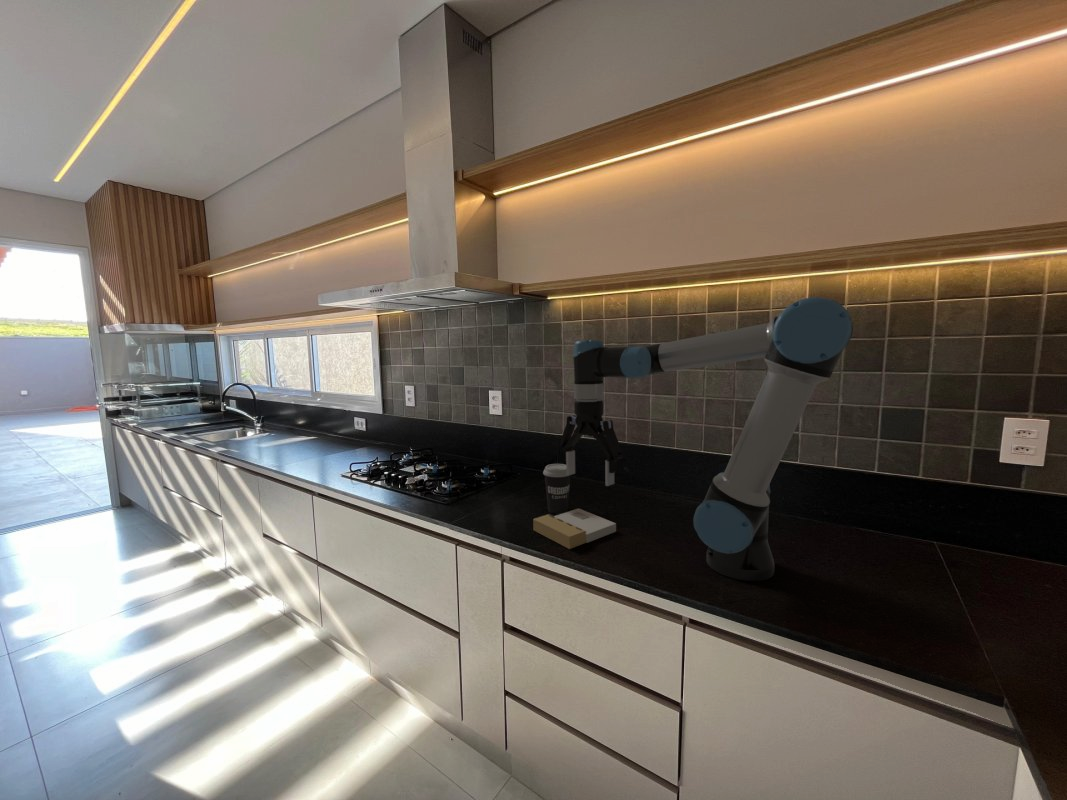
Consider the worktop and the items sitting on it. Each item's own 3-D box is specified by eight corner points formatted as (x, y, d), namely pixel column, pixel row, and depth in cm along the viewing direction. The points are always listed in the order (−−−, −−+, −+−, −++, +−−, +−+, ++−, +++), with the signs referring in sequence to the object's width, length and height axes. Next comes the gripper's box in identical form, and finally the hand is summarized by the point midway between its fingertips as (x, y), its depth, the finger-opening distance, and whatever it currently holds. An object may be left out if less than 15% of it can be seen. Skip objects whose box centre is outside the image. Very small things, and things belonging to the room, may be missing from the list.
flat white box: (615, 531, 129) (616, 522, 128) (586, 543, 121) (586, 533, 121) (578, 515, 141) (578, 507, 141) (550, 525, 134) (550, 516, 134)
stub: (585, 542, 121) (585, 530, 121) (569, 549, 118) (569, 535, 117) (548, 525, 134) (548, 513, 133) (533, 530, 130) (533, 518, 130)
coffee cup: (538, 512, 144) (538, 468, 143) (551, 503, 153) (550, 462, 151) (565, 517, 140) (564, 472, 138) (576, 507, 148) (576, 465, 147)
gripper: (637, 401, 106) (637, 486, 109) (564, 395, 125) (565, 467, 127) (618, 404, 102) (618, 493, 104) (545, 398, 120) (546, 473, 122)
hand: (589, 479), depth 116 cm, fingers open, 13 cm apart
